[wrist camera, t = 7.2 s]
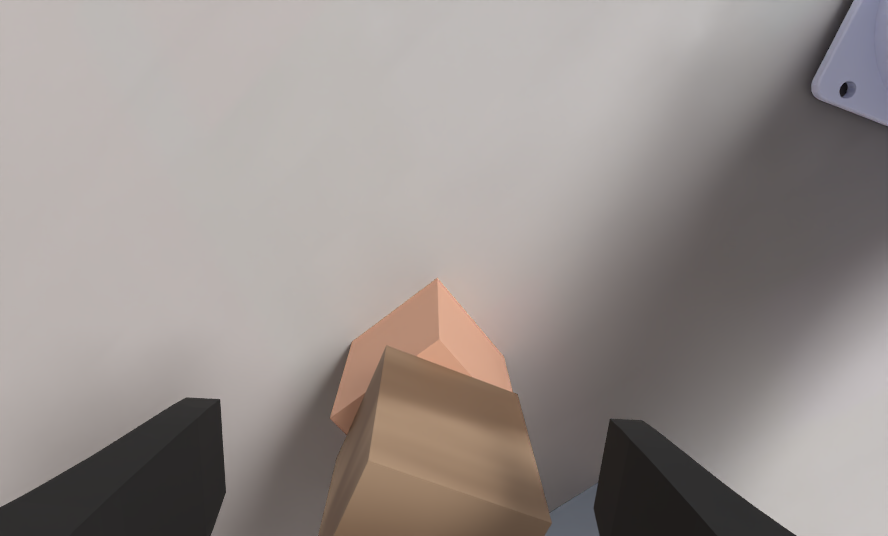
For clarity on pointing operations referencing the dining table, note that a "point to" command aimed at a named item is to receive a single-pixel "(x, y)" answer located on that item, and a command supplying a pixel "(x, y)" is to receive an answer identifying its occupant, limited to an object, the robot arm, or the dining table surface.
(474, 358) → the terracotta brick
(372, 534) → the walnut brick
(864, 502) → the dining table surface
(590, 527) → the slate blue brick
